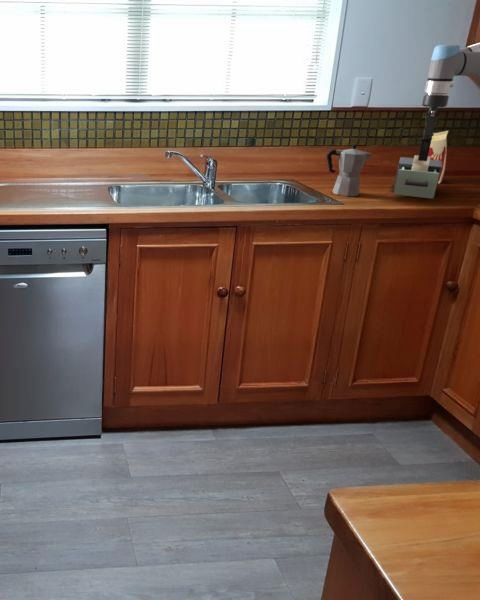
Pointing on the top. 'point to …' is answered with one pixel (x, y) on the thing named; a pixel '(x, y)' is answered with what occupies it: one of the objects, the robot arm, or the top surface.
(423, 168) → the block
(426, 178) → the bin
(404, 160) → the cabinet
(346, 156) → the coffeepot
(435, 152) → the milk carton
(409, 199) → the top surface
